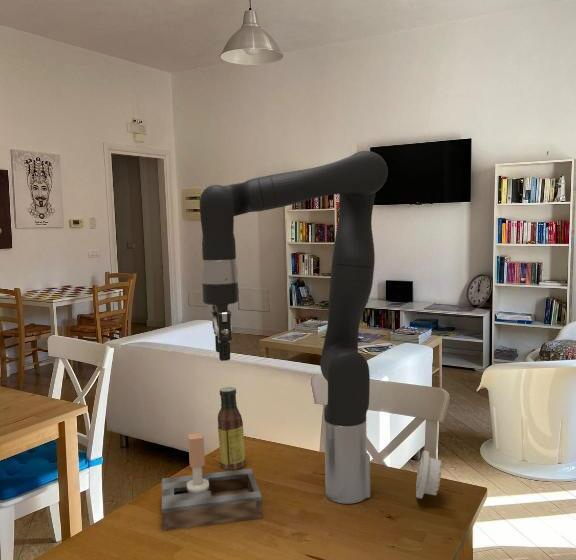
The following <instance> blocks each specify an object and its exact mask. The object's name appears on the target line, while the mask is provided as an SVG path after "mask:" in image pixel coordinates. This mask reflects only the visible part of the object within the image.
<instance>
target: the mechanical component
mask: <svg viewBox="0 0 576 560" xmlns="http://www.w3.org/2000/svg"><path fill="white" fill-rule="evenodd" d="M441 476H442V460H440V459H437V458H433V457H431V456H430V451H428V450H423V451H422V453H421V457H420V460H419V462H418V467H417V474H416V482H415V483H416V484H415V486H416V487H415V488H416V491H415V496H416V498H417V499H423V497H424V494H427V495H431V496H437V495H438V491H439V488H440V483H441Z"/></svg>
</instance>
